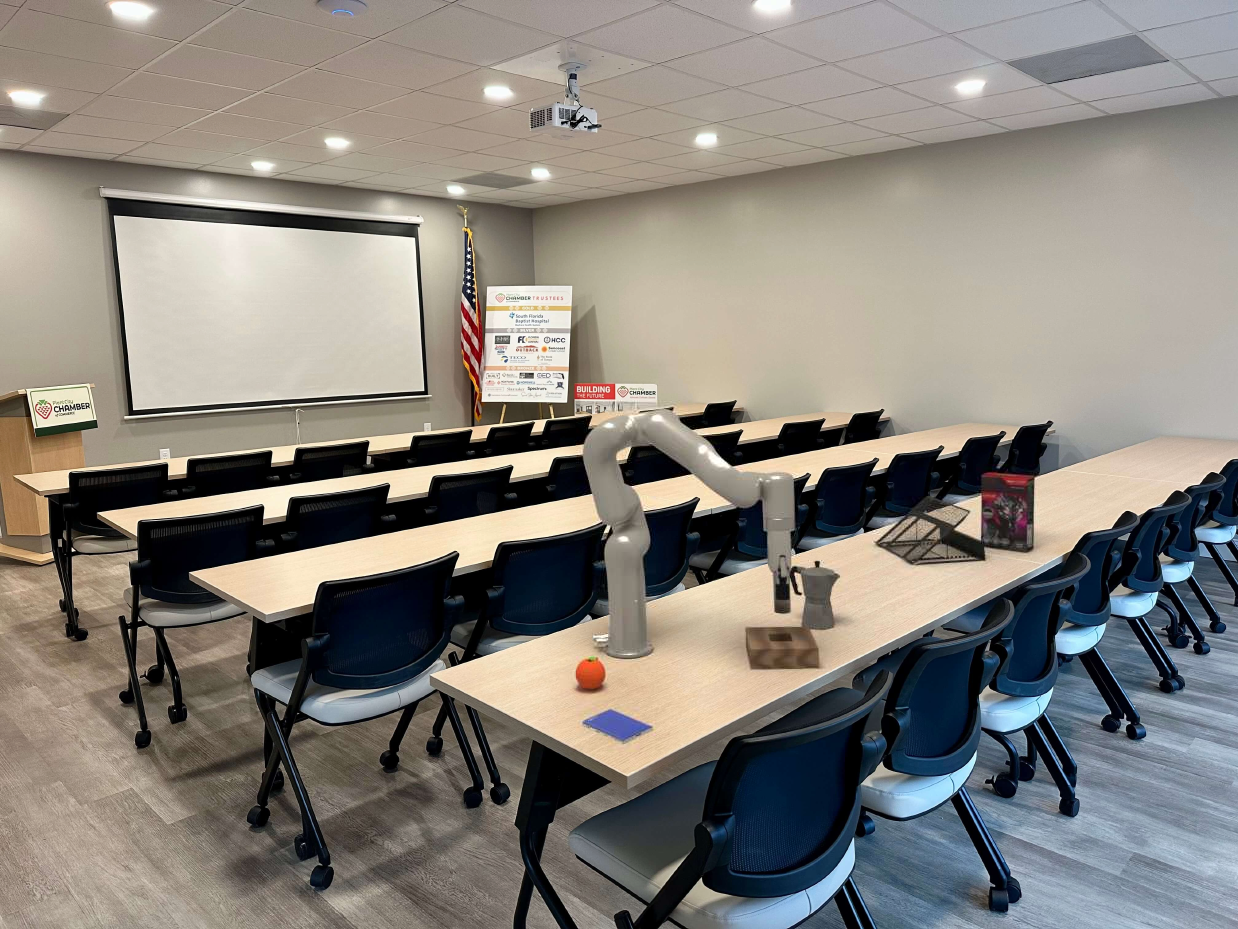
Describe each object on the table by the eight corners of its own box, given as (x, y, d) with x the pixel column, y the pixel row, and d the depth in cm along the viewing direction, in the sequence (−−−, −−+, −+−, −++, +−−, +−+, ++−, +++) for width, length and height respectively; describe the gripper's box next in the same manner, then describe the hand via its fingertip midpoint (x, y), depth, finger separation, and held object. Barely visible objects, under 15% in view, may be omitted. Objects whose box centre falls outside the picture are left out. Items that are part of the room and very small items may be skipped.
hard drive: (582, 720, 172) (623, 739, 163) (611, 708, 178) (652, 725, 169) (582, 728, 172) (623, 746, 163) (611, 715, 178) (653, 732, 169)
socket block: (750, 669, 199) (750, 649, 198) (745, 646, 215) (745, 627, 214) (818, 668, 198) (818, 648, 197) (808, 645, 213) (808, 626, 213)
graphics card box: (979, 546, 309) (980, 474, 306) (987, 543, 314) (988, 471, 310) (1026, 553, 297) (1028, 477, 293) (1034, 549, 301) (1036, 475, 298)
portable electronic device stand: (872, 545, 319) (872, 498, 317) (942, 541, 322) (943, 494, 319) (910, 567, 287) (910, 514, 284) (987, 562, 289) (988, 510, 287)
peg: (775, 614, 203) (773, 565, 201) (773, 609, 207) (771, 561, 205) (791, 613, 202) (790, 565, 201) (789, 608, 206) (788, 561, 205)
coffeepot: (848, 624, 228) (847, 560, 226) (832, 633, 221) (831, 567, 219) (797, 614, 238) (796, 553, 236) (780, 623, 231) (779, 560, 229)
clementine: (585, 679, 197) (584, 650, 196) (612, 682, 194) (611, 653, 193) (571, 692, 190) (569, 662, 189) (598, 695, 187) (597, 665, 186)
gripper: (760, 517, 210) (763, 588, 213) (766, 531, 194) (769, 607, 196) (790, 516, 210) (792, 587, 212) (799, 530, 193) (802, 606, 195)
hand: (781, 596), depth 204 cm, fingers closed on peg, 4 cm apart
